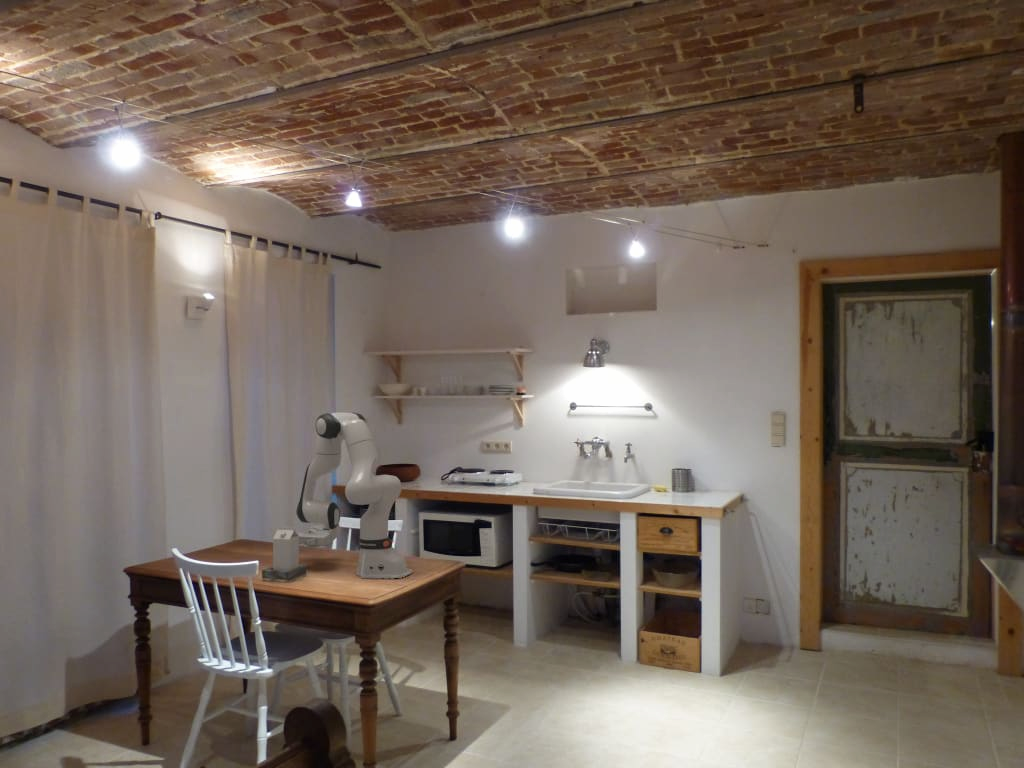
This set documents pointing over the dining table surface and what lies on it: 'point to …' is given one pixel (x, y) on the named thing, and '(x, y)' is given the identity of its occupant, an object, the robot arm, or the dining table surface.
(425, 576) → the dining table surface
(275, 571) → the square glass ashtray
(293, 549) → the milk carton
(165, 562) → the dining table surface
